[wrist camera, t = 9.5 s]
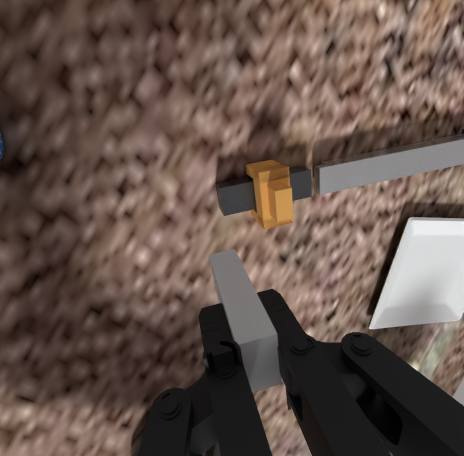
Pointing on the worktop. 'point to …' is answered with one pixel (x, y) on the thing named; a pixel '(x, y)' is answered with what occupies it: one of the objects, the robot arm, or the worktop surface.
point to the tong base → (243, 193)
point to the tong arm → (388, 165)
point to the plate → (424, 275)
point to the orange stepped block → (271, 193)
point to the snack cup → (1, 146)
